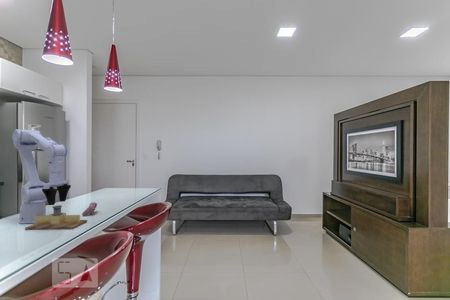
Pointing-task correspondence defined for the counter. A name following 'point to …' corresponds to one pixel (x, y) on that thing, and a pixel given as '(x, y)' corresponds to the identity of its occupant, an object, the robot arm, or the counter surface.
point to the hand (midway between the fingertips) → (57, 203)
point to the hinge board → (48, 227)
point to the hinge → (57, 219)
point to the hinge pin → (57, 210)
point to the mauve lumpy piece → (90, 209)
